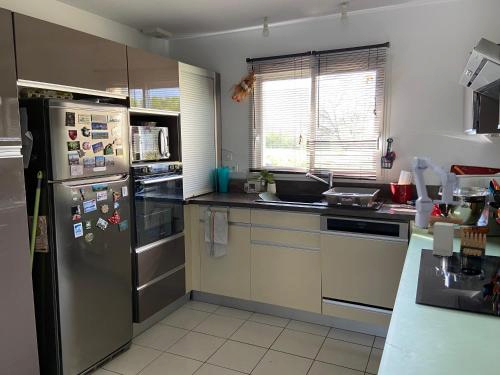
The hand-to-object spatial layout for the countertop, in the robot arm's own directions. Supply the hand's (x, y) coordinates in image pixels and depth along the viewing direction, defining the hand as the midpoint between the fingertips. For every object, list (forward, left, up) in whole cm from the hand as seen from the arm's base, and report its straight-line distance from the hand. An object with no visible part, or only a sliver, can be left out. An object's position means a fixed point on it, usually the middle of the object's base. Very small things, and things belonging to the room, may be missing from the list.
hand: (445, 216), depth 232 cm
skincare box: (+41, -25, -10) cm, 50 cm away
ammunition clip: (+44, -13, -10) cm, 47 cm away
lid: (-2, +1, -3) cm, 4 cm away
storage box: (-2, +1, -10) cm, 10 cm away
